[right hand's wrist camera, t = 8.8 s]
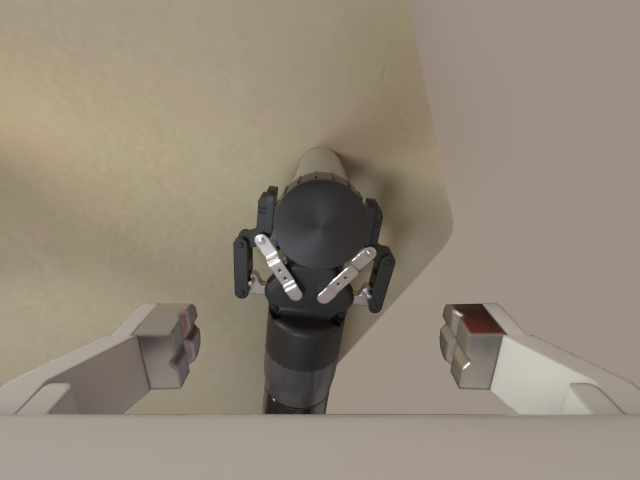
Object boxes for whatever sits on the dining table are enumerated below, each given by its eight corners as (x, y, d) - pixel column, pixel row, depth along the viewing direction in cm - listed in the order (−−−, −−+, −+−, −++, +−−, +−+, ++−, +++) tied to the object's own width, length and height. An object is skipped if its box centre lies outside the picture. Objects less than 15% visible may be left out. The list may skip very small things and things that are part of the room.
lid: (258, 217, 21) (251, 230, 19) (316, 150, 19) (316, 156, 17) (323, 270, 22) (323, 287, 20) (382, 210, 21) (389, 223, 19)
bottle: (288, 172, 35) (262, 227, 19) (318, 137, 34) (317, 165, 18) (322, 201, 36) (323, 276, 20) (352, 169, 35) (379, 221, 19)
